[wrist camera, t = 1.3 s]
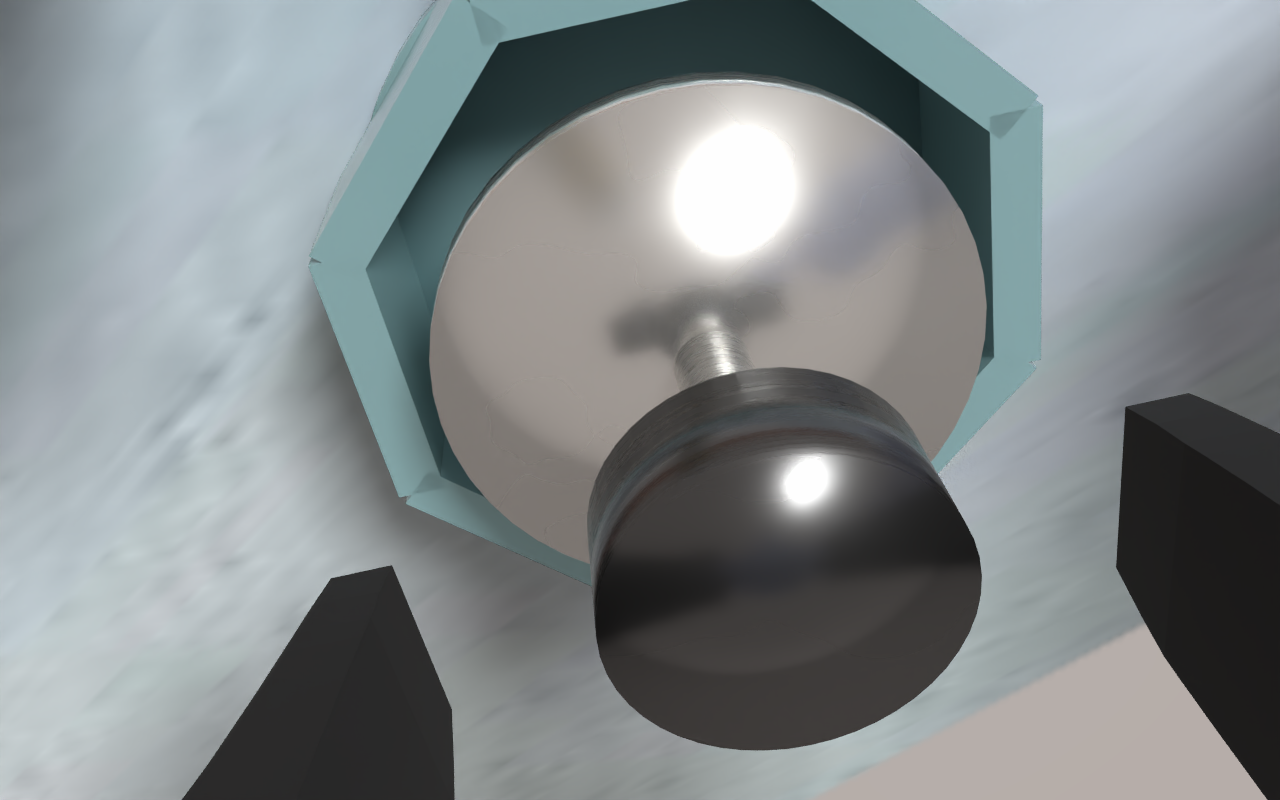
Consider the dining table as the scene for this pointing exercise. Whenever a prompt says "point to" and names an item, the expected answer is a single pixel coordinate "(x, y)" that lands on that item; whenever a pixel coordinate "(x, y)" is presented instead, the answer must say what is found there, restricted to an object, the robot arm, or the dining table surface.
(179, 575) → the dining table surface
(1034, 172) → the teal tabbed tray
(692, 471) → the doorknob
